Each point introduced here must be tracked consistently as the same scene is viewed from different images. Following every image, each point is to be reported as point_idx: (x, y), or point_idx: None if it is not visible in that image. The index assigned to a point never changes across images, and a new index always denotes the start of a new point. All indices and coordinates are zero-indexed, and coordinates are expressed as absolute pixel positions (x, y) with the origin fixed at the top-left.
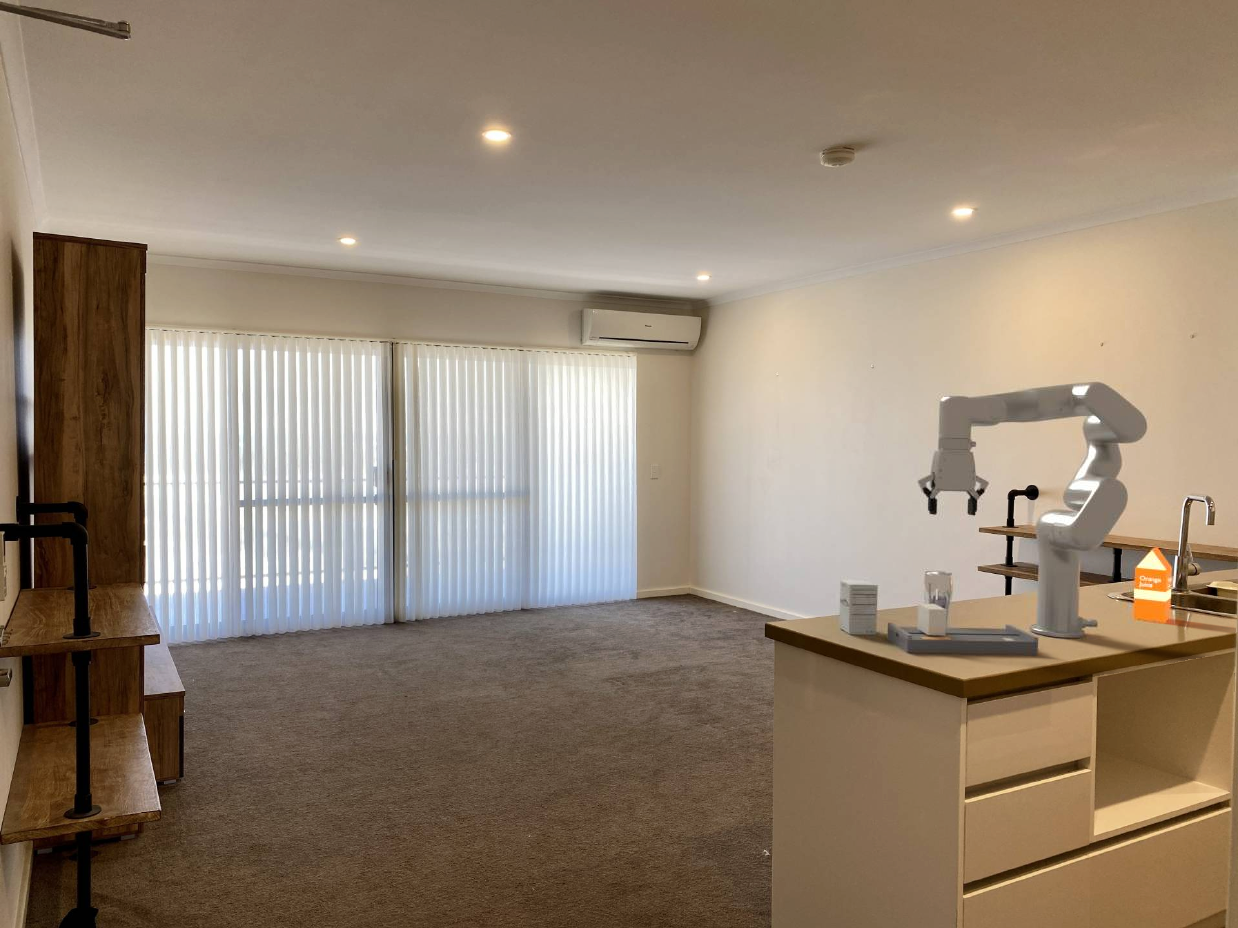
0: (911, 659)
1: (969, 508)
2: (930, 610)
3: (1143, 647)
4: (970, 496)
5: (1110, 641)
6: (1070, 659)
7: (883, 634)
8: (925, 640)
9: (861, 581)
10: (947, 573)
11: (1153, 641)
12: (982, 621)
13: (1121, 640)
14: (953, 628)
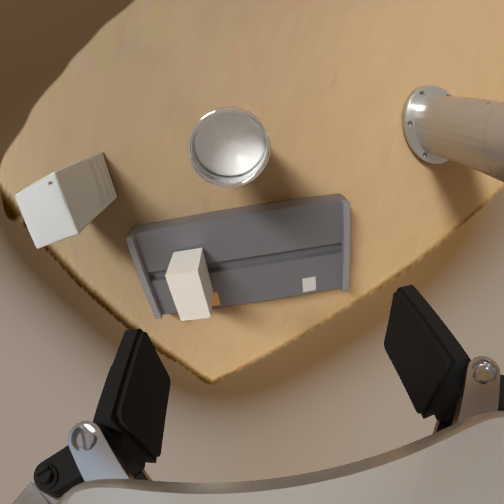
0: (165, 330)
1: (406, 338)
2: (183, 319)
3: (479, 204)
4: (452, 398)
5: (467, 175)
6: (369, 287)
7: (128, 193)
8: None
9: (46, 205)
10: (261, 127)
11: None
12: (347, 33)
13: None
14: (242, 220)
